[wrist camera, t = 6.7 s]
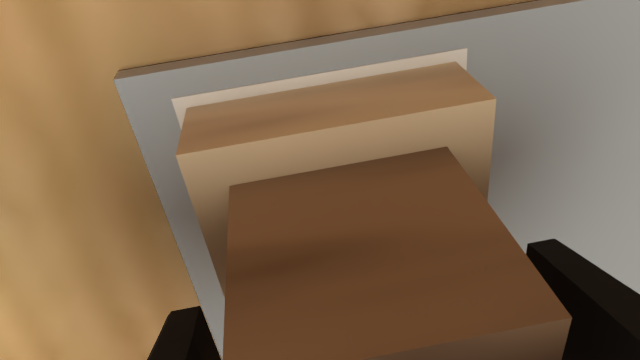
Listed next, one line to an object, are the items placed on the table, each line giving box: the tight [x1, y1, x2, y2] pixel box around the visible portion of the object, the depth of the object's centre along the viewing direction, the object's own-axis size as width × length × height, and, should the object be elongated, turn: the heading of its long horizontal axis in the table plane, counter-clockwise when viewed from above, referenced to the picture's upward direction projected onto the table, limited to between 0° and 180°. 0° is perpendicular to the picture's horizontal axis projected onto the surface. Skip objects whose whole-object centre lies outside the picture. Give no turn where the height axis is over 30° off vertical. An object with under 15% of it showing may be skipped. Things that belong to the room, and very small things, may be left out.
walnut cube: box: [223, 147, 572, 360], centre depth 10 cm, size 5×5×5 cm
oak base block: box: [176, 61, 496, 298], centre depth 13 cm, size 7×7×2 cm
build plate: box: [113, 0, 640, 360], centre depth 16 cm, size 14×20×1 cm
